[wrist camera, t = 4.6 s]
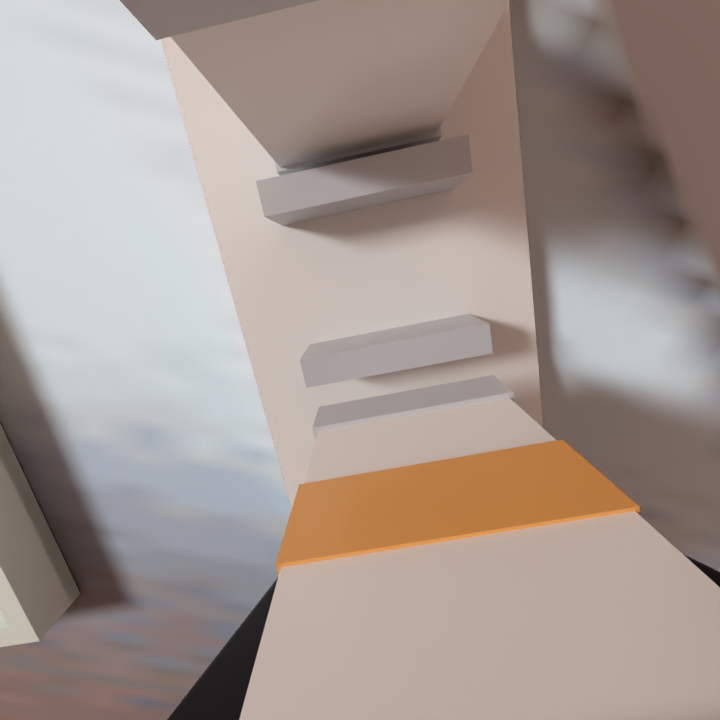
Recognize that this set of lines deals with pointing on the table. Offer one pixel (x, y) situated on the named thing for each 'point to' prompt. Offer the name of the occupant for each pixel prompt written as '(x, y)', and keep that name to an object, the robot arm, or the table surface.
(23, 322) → the table surface
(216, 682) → the robot arm
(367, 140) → the plain fuse
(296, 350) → the block
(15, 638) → the tray
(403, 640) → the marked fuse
